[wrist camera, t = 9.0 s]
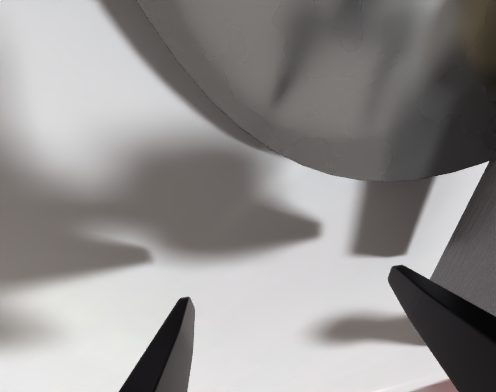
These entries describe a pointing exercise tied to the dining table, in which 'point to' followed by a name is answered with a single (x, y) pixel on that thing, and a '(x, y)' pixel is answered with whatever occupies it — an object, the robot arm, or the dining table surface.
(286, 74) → the levelling base
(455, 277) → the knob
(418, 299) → the robot arm
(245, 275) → the dining table surface
